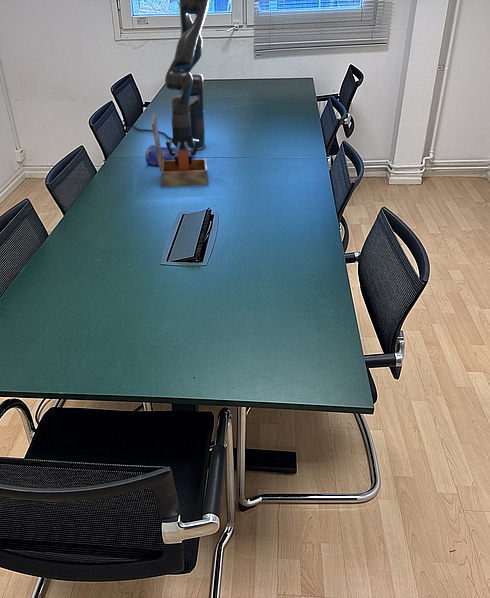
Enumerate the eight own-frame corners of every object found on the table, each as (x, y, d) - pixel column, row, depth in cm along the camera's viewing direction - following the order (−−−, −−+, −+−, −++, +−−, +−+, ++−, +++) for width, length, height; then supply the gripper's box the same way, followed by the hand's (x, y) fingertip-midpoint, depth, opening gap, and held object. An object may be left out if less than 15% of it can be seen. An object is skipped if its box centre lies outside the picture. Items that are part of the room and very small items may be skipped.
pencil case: (197, 165, 245) (196, 144, 240) (190, 172, 239) (189, 151, 233) (152, 161, 251) (150, 140, 246) (144, 167, 245) (142, 146, 239)
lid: (155, 113, 221) (153, 113, 221) (153, 123, 210) (151, 124, 210) (162, 159, 232) (161, 159, 232) (162, 171, 221) (160, 171, 221)
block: (188, 167, 232) (187, 147, 227) (188, 170, 229) (187, 151, 224) (178, 167, 232) (177, 147, 227) (178, 171, 229) (177, 151, 224)
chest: (206, 174, 237) (205, 158, 233) (207, 186, 226) (207, 170, 222) (163, 175, 237) (162, 160, 233) (162, 188, 225) (161, 172, 221)
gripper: (198, 120, 223) (200, 160, 233) (163, 121, 222) (166, 162, 232) (199, 126, 217) (200, 167, 226) (163, 127, 216) (166, 168, 226)
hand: (183, 164), depth 229 cm, fingers closed on block, 4 cm apart
